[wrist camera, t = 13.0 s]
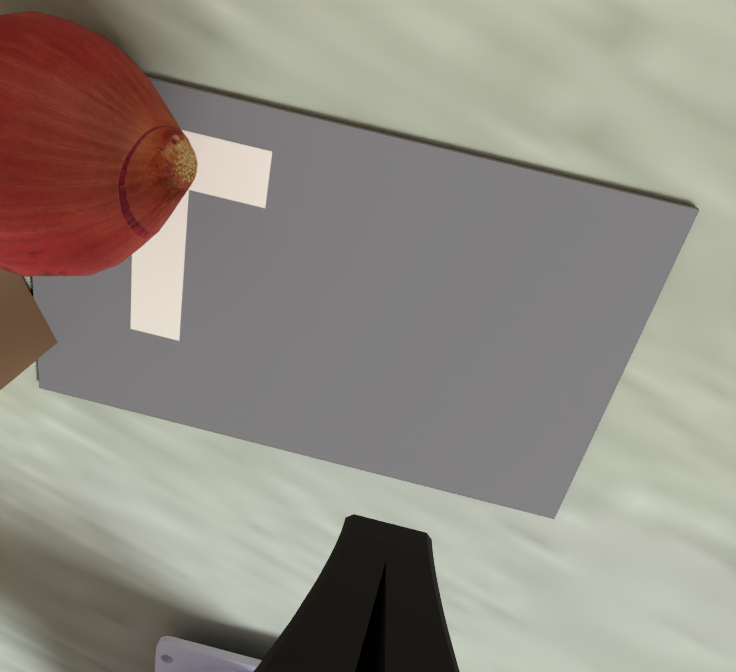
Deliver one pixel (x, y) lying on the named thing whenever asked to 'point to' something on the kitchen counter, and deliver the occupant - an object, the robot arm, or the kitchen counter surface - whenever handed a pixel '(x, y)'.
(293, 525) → the kitchen counter surface
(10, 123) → the onion
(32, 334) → the walnut block
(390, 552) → the robot arm
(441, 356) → the letter mat
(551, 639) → the kitchen counter surface
